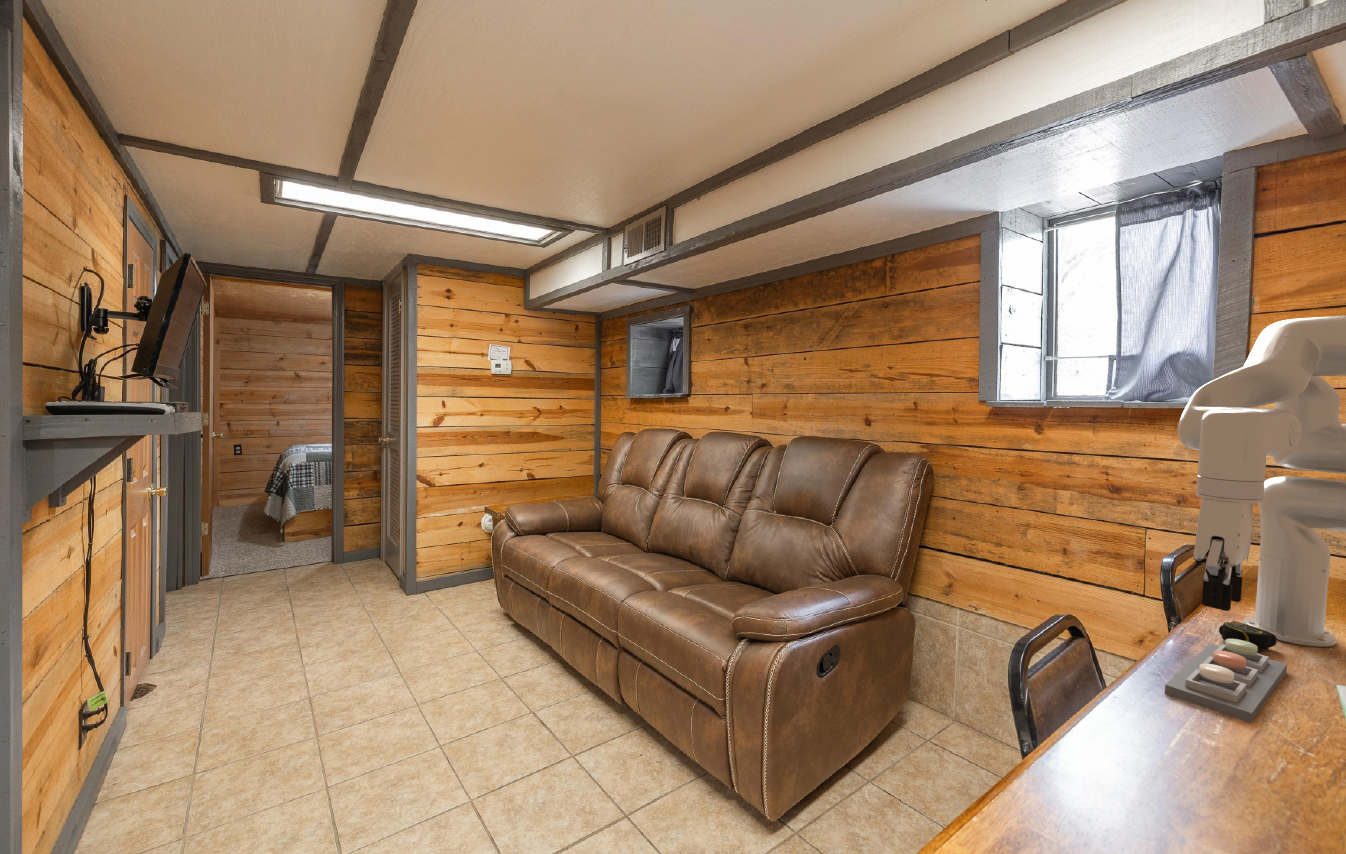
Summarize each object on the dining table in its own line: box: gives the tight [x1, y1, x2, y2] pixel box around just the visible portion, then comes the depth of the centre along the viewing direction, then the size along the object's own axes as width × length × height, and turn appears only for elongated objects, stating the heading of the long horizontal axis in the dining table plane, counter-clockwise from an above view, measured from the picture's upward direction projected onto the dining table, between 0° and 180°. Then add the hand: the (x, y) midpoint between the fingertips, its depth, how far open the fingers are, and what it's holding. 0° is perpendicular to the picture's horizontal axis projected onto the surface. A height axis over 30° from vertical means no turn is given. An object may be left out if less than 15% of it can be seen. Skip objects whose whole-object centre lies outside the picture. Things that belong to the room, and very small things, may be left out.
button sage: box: [1224, 639, 1259, 656], centre depth 101 cm, size 4×4×1 cm
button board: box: [1164, 642, 1288, 724], centre depth 97 cm, size 26×10×3 cm, turn 125°
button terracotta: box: [1213, 651, 1247, 669], centre depth 96 cm, size 4×4×1 cm
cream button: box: [1199, 664, 1234, 683], centre depth 92 cm, size 4×4×1 cm
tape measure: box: [1218, 620, 1278, 651], centre depth 111 cm, size 7×7×4 cm
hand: (1221, 602), depth 91 cm, fingers open, 5 cm apart
